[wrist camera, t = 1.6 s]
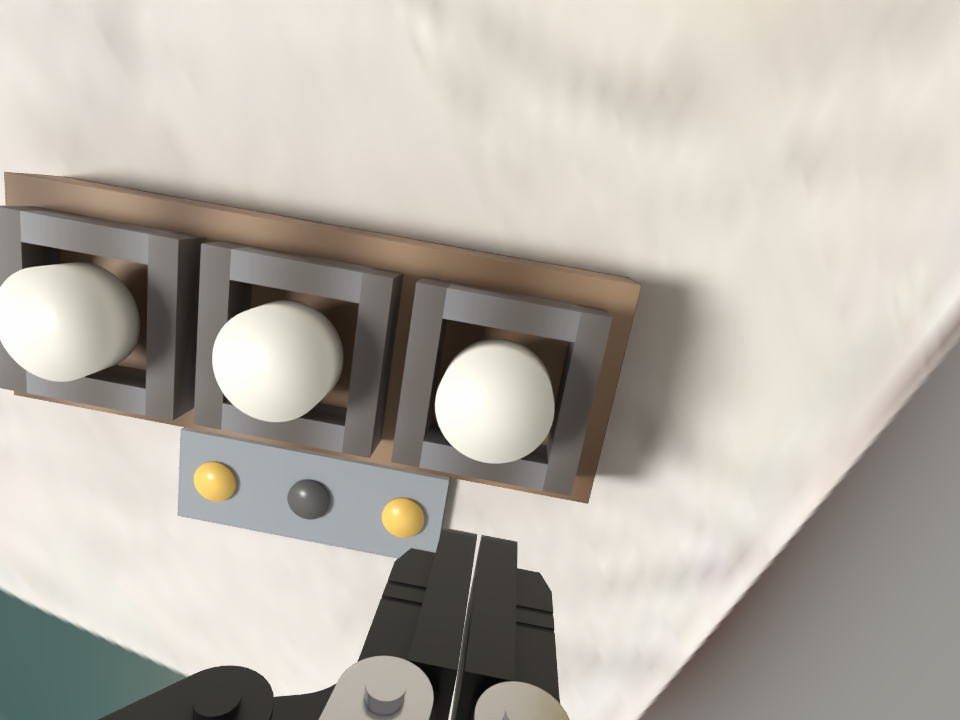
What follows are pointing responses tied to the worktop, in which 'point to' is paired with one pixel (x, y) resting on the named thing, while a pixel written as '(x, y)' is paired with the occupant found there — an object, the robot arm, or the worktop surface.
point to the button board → (349, 307)
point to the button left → (67, 320)
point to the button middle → (277, 360)
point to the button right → (495, 401)
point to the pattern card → (309, 494)
